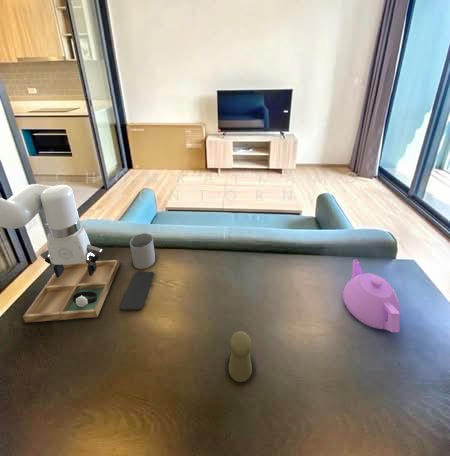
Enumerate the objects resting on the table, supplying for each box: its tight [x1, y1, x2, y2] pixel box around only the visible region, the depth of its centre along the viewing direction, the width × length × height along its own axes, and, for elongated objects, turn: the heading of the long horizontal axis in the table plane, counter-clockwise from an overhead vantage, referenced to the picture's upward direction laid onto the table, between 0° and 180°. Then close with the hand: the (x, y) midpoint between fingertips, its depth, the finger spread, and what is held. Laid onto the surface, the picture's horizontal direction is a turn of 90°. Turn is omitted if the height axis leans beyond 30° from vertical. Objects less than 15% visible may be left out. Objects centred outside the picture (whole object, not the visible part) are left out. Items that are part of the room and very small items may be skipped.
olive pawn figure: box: [228, 330, 253, 383], centre depth 62 cm, size 6×6×11 cm
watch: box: [73, 291, 97, 307], centre depth 81 cm, size 8×5×4 cm, turn 87°
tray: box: [22, 259, 120, 323], centre depth 86 cm, size 21×21×2 cm
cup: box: [129, 232, 156, 270], centre depth 97 cm, size 8×8×10 cm
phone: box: [119, 270, 155, 312], centre depth 86 cm, size 7×1×15 cm
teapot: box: [342, 259, 402, 333], centre depth 77 cm, size 22×16×12 cm
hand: (76, 273), depth 78 cm, fingers open, 9 cm apart
